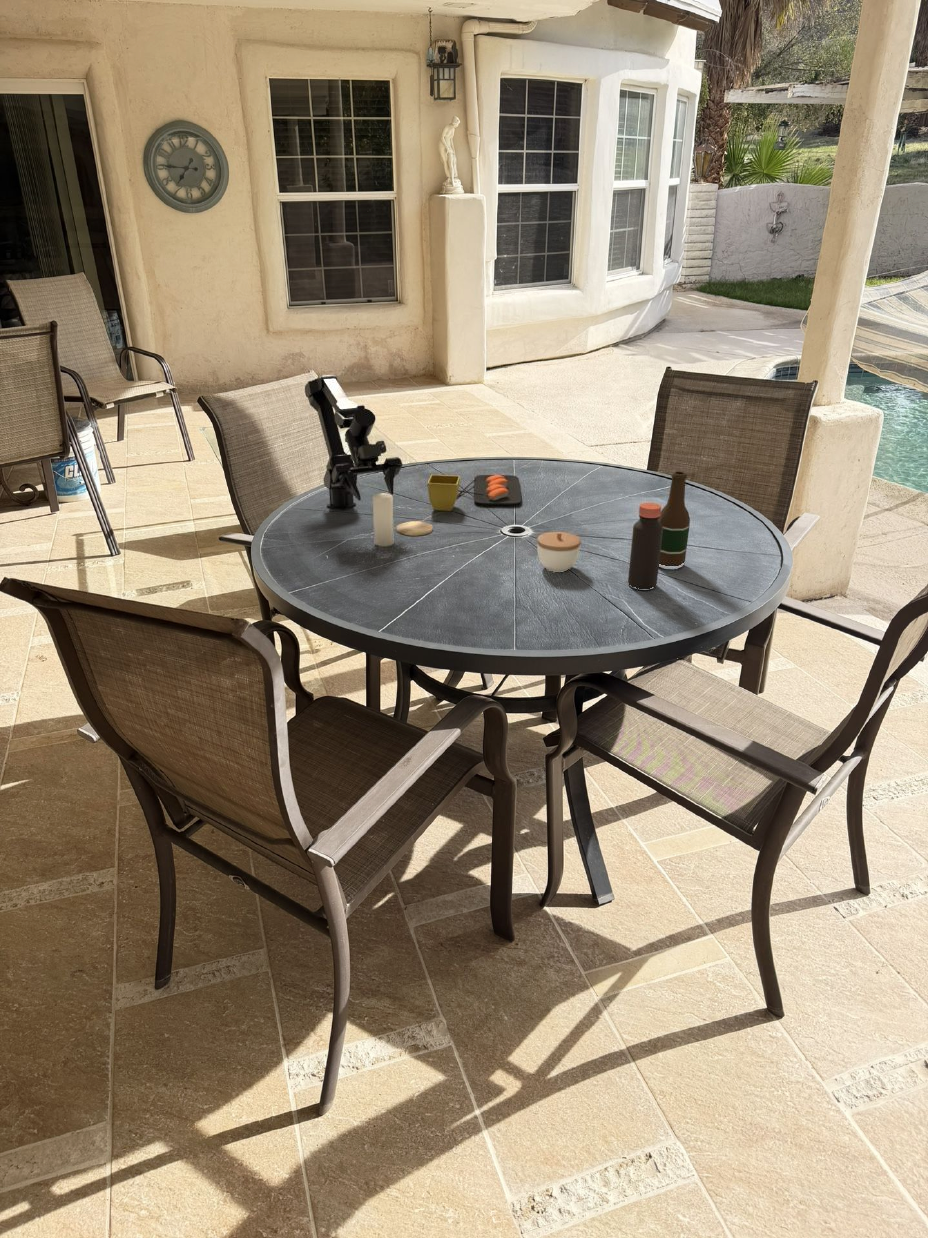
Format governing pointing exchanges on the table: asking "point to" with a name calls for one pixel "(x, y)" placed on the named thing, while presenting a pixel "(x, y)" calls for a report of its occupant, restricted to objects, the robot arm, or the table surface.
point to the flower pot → (443, 491)
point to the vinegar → (646, 547)
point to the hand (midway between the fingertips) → (376, 497)
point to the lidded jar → (558, 550)
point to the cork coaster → (414, 528)
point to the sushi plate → (495, 489)
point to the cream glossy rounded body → (383, 519)
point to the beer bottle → (675, 523)
